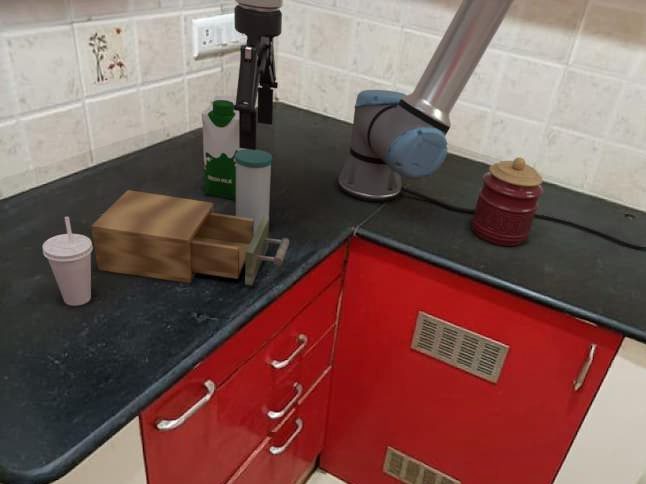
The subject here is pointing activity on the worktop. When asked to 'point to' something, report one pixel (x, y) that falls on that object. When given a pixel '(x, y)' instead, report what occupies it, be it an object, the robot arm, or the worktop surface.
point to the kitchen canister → (507, 203)
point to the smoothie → (71, 265)
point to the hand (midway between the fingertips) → (256, 135)
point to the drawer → (233, 247)
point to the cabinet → (149, 235)
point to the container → (253, 184)
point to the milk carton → (220, 148)
